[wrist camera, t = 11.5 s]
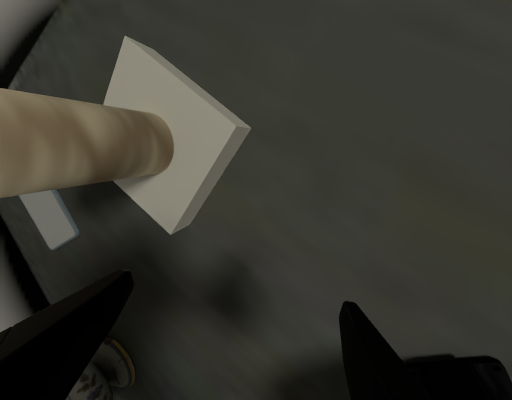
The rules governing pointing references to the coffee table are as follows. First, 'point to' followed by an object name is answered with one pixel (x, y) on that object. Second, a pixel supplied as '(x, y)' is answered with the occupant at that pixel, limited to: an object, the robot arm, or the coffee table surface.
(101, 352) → the apothecary jar
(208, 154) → the cream plinth
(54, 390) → the robot arm
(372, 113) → the coffee table surface
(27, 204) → the smartphone
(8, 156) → the birch pillar
